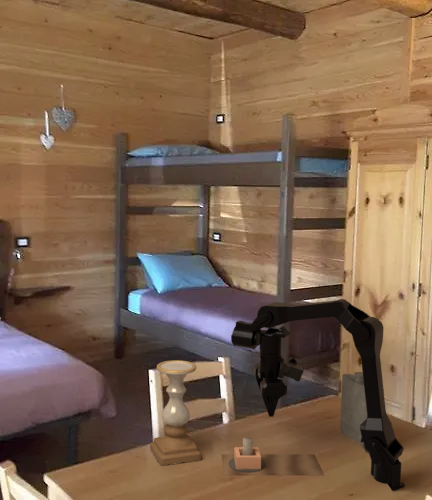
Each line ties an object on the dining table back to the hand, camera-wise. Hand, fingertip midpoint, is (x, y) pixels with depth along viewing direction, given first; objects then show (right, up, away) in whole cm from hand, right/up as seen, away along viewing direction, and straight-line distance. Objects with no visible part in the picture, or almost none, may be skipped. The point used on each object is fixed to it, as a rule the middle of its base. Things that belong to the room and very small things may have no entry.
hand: (268, 410), depth 173 cm
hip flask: (+25, -12, +10) cm, 30 cm away
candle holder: (-24, -12, 0) cm, 27 cm away
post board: (0, -13, -8) cm, 15 cm away
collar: (-6, -11, -9) cm, 15 cm away
